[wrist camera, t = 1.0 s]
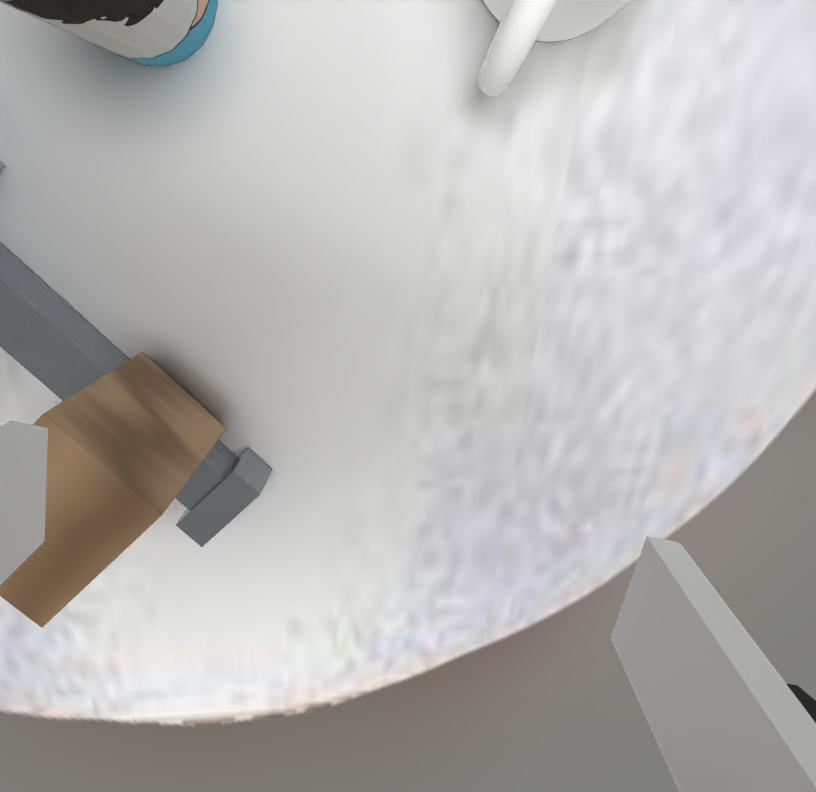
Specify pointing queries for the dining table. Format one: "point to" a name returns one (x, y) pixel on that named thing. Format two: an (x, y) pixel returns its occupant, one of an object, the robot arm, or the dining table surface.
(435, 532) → the dining table surface
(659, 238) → the dining table surface
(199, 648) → the dining table surface
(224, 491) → the rail
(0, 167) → the grey block with hole
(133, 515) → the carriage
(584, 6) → the mug
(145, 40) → the white printed can
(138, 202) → the dining table surface
